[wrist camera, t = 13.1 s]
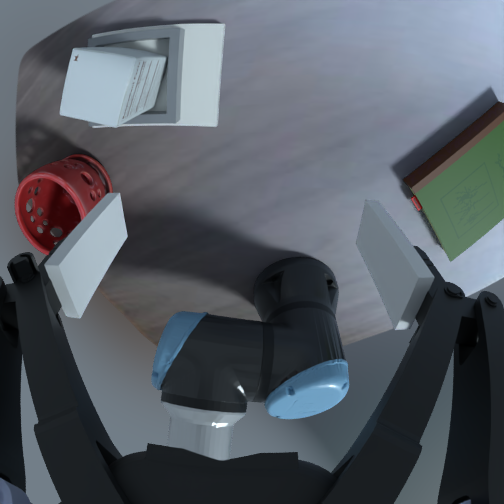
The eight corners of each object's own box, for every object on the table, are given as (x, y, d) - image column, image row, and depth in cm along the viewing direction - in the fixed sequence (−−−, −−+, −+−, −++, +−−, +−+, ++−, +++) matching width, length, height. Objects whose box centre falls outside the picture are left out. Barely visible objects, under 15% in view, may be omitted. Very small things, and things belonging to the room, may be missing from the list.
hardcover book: (496, 100, 32) (510, 105, 29) (522, 181, 40) (534, 189, 37) (397, 181, 43) (407, 191, 40) (439, 252, 50) (447, 264, 47)
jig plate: (217, 124, 38) (213, 130, 35) (97, 125, 37) (84, 132, 34) (225, 25, 30) (222, 21, 27) (97, 35, 29) (83, 34, 26)
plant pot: (133, 207, 45) (103, 250, 36) (73, 225, 47) (40, 266, 37) (102, 132, 38) (59, 159, 28) (43, 160, 40) (0, 192, 30)
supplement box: (107, 96, 34) (56, 115, 23) (122, 45, 30) (71, 45, 19) (155, 108, 35) (116, 130, 25) (172, 56, 31) (136, 56, 21)
